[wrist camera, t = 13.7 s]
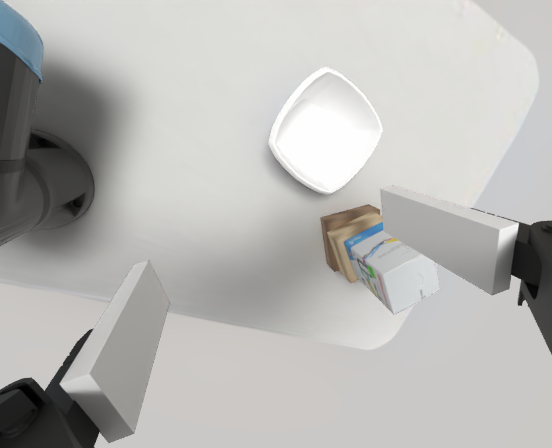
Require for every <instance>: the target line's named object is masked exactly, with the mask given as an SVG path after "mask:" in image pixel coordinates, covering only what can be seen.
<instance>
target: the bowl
mask: <svg viewBox="0 0 552 448" xmlns="http://www.w3.org/2000/svg"><path fill="white" fill-rule="evenodd" d="M382 130H383V129H382V125H381V122H380V119H379V116H378V115H377V113H376V111H375V110H374V108H373V106H372V105H371V103H370V102H369V100H368V99H367V98H366V96H365V95H364V94H363V92H362V91H361V90H360V89H358V88H357V87H356V86H355V85H354V84H353V83H352V82H351V81H350V80H348V79H347V78H346V77H345V76H343V75H342V74H341V73H339V72H337V71H335V70H333V69H330V68H328V67H323V68H321V69H320V70H318V71H316V72H315V73H313V74H311V75H310V76H309V77H308V78H307V79H306V80H305V81H304V82H303V83H302V84H301V85H300V86H299V87H298V88H297V89H296V90H295V92H294V93H293V94H292V95H291V96H290V97H289V99H288V100H287V102H286V103H285V105H284V107H283V108H282V110H281V111H280V113H279V115H278V117H277V119H276V121H275V123H274V125H273V127H272V130H271V133H270V137H269V141H268V144H269V147H270V149H271V151H272V152H273V154H274V156H275V158H276V159H277V160H278V161H279V162H280V164H281V165H282V166H283V167H284V168H285V169H286V170H287V171H288V172H289V173H290V174H291V175H292V176H293V177H294V178H295V179H297V180H298V181H299V182H301V183H302V184H304V185H305V186H307V187H309V188H311V189H313V190H314V191H316V192H319V193H323V194H327V195H330V194H332V193H334V192H335V191H337V190H339V189H340V188H342V187H343V186H344V185H345V184H346V183H347V182H349V181H350V180H351V179H352V178H353V177H354V176H355V174H356V173H357V172H358V171H359V170H360V169H361V168H362V167H363V165H364V164H365V162H366V161H367V160H368V158H369V157H370V155H371V154H372V152H373V150H374V149H375V147H376V145H377V144H378V141H379V138H380V136H381V133H382Z"/></svg>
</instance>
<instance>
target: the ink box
mask: <svg viewBox="0 0 552 448" xmlns="http://www.w3.org/2000/svg"><path fill="white" fill-rule="evenodd" d="M344 244H345V247H346V250H347V253H348V255H349V258H350V261H351V264H352V267H353V270H354V273H355V276H356V277H357V278H358V279H359V280H360V281H361V282H362V283H363V284H364V285H365V286H366V287H367V288H368V289H369V290H370V291H371V292H372V293H373V294H374V295H375V296H376V297H377V298H378V299H379V300H380V301H381V302H382V303H383V304H384V305H385V306H386V307H387V308H388V309H389V310H390V311H391V312H392V313H393V314H397V313H399V312H401V311H403V310H405V309H407V308H408V307H410V306H412V305H414V304H416V303H418V302H420V301H422V300H424V299H426V298H428V297H429V296H430V295H432V294H434V293H436V292H438V291H439V290H440V286H439V281H438V275H437V270H436V264H435V262H434V261H433V260H431V259H429V258H428V257H426V256H424V255H423V254H421V253H419V252H417V251H416V250H414V249H412V248H411V247H409V246H407V245H406V244H404V243H402V242H400V241H399V240H397V239H395V238H394V237H392V236H390V235H389V234H387V233H385V232H384V229H383V222H381V223H379V224H377V225H375V226H373V227H371V228H369V229H367V230H365V231H363V232H361V233H359V234H357V235H355V236H353V237H352V238H350V239H348V240H346V241H344Z"/></svg>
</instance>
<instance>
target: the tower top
mask: <svg viewBox="0 0 552 448" xmlns="http://www.w3.org/2000/svg"><path fill="white" fill-rule="evenodd" d="M381 222H383V216H381V215H379V214H377V213H375V212H373V211H371V212H369V213H367V214H365V215H363V216H361V217H358V218H356V219H354V220H352V221H350V222H348V223H346V224H344V225H341V226H339V227H337V228H335V229H333V230H331V231H329V232H327V234H328V237H329V240H330V243H331V246H332V249H333V251H334V254H335V257H336V260H337V263H338V266H339V269H340V272H341V273H342V274H343V275H344V276H345V277H346V279H347V280H348V281H349V282H350V283H353V282H355V281H357V280H359V279H358V278H357V277H356V276H355V273H354V270H353V267H352V264H351V261H350V258H349V255H348V253H347V250H346V247H345V244H344V241H346V240H348V239H350V238H352V237H353V236H355V235H357V234H359V233H361V232H363V231H365V230H367V229H369V228H371V227H373V226H375V225H377V224H379V223H381Z"/></svg>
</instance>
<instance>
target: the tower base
mask: <svg viewBox="0 0 552 448" xmlns="http://www.w3.org/2000/svg"><path fill="white" fill-rule="evenodd" d="M371 211H373V212H375V213H377V214H379V215H380V210H379V209H377V208H375V207H373V206H371V205H369V204H368V205H365V206H361V207H357V208H354V209H350V210H346V211H343V212H339V213H335V214H332V215H328V216H324V217H320V218H321V225H322V232H323V239H324V246H325V253H326V260H327V263H328V264H329V266H330V267H331V268H332V269H333V270H334V272H335V271H339V270H340V269H339V266H338V263H337V260H336V257H335V254H334V251H333V249H332V246H331V243H330V240H329V237H328V234H327V232H329V231H331V230H333V229H335V228H337V227H339V226H341V225H344V224H346V223H348V222H350V221H352V220H354V219H356V218H358V217H361V216H363V215H365V214H367V213H369V212H371Z"/></svg>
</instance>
